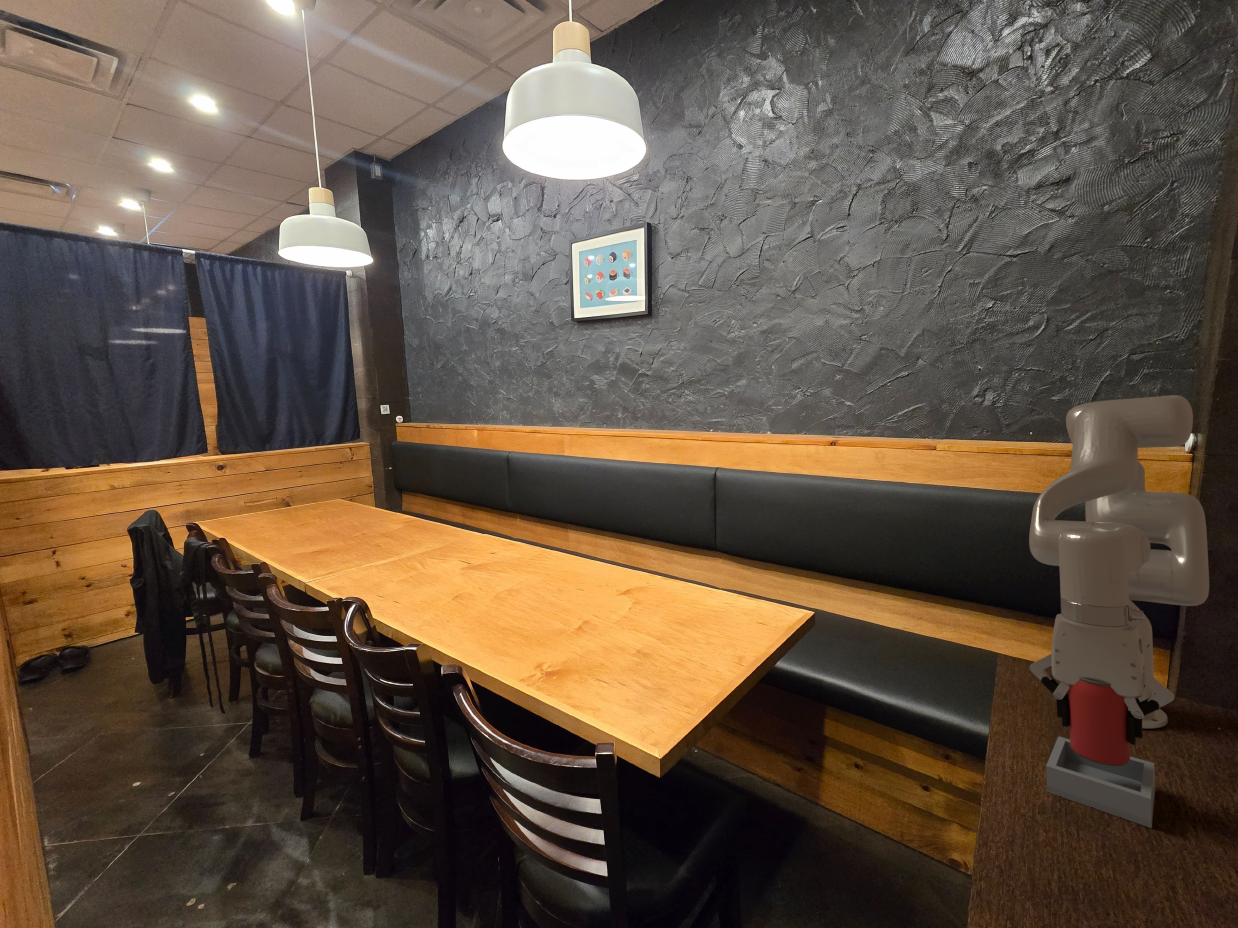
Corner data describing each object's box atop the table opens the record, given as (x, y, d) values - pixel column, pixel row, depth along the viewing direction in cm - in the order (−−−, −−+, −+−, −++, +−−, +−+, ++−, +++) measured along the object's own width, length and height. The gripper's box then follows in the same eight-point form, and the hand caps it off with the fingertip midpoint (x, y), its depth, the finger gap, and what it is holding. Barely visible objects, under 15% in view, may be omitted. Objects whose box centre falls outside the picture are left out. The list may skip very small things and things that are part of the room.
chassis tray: (1059, 760, 86) (1058, 736, 86) (1155, 789, 78) (1154, 762, 77) (1047, 791, 78) (1046, 765, 78) (1151, 828, 70) (1150, 798, 70)
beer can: (1142, 770, 74) (1139, 686, 74) (1088, 766, 75) (1085, 684, 75) (1109, 744, 80) (1106, 667, 80) (1060, 741, 82) (1057, 665, 81)
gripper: (1180, 617, 74) (1184, 743, 74) (1026, 597, 86) (1030, 704, 87) (1179, 631, 68) (1184, 766, 69) (1016, 607, 81) (1020, 721, 82)
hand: (1098, 730), depth 78 cm, fingers closed on beer can, 6 cm apart
